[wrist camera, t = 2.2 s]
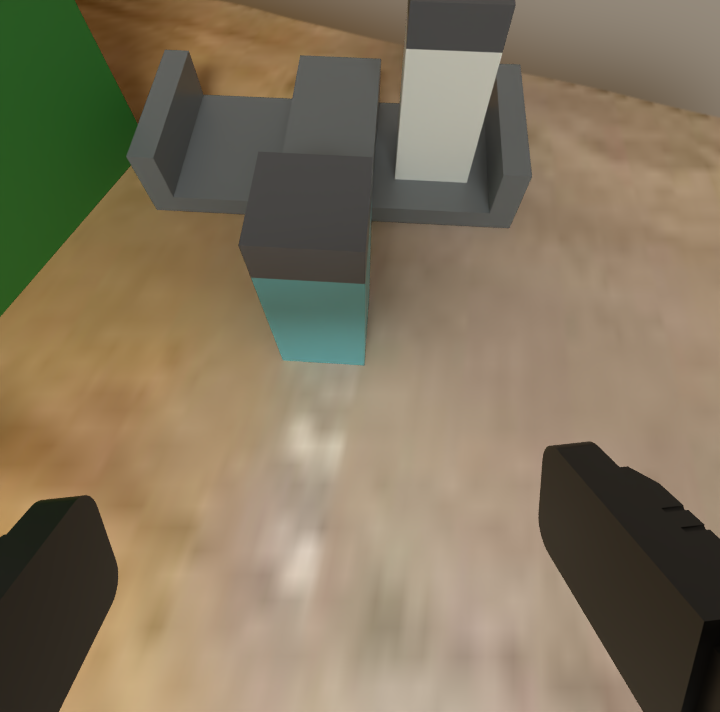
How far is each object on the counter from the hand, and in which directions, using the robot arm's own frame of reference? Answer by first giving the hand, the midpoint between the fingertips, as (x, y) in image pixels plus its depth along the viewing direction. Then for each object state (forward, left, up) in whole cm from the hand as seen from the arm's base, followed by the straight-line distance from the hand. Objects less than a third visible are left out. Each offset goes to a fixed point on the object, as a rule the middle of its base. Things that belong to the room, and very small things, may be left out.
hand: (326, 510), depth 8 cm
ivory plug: (-4, -23, -13) cm, 27 cm away
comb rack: (+3, -23, -14) cm, 27 cm away
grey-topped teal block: (+2, -11, -14) cm, 18 cm away
